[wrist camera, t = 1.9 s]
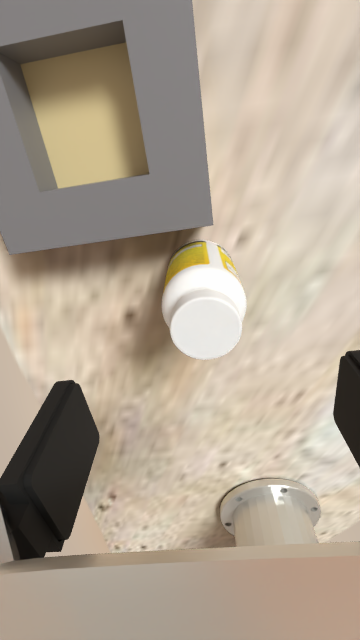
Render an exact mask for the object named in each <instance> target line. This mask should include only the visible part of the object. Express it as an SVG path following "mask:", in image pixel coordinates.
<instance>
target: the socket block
mask: <svg viewBox="0 0 360 640" xmlns="http://www.w3.org/2000/svg"><path fill="white" fill-rule="evenodd" d="M211 225H213V217H212V206H211V196H210V185H209V175H208V164H207V154H206V143H205V132H204V122H203V111H202V101H201V90H200V80H199V69H198V59H197V48H196V38H195V27H194V17H193V6H192V0H0V232H1V235H2V237H3V240H4V242H5V245H6V247H7V249H8V252H9V254H10V255H12V254H19V253H26V252H32V251H39V250H46V249H53V248H60V247H67V246H74V245H81V244H87V243H94V242H101V241H108V240H115V239H122V238H129V237H136V236H142V235H149V234H156V233H163V232H170V231H177V230H184V229H191V228H197V227H204V226H211Z"/></svg>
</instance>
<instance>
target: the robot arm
mask: <svg viewBox="0 0 360 640" xmlns="http://www.w3.org/2000/svg"><path fill="white" fill-rule="evenodd" d="M333 415H334V420H335V423H336V425H337V426H338V428H339V430H340V432H341V434H342V436H343V438H344V439H345V441H346V443H347V445H348V447H349V449H350V451H351V452H352V454H353V456H354V458H355V460H356V462H357V463H358V465H359V467H360V350H356V351H348V352H346V354H345V356H342V357H341V359H340V365H339V373H338V381H337V388H336V396H335V404H334V412H333ZM98 444H99V432H98V430H97V427H96V425H95V422H94V420H93V417H92V415H91V412H90V410H89V407H88V405H87V402H86V400H85V397H84V395H83V392H82V390H81V387H80V385H79V384H77V383H76V384H75V382H74V381H73V380H67V381H58V382H56V383H55V384H54V386H53V388H52V389H51V391H50V393H49V394H48V396H47V398H46V400H45V401H44V403H43V405H42V407H41V408H40V410H39V412H38V414H37V416H36V417H35V419H34V421H33V422H32V424H31V426H30V428H29V429H28V431H27V433H26V435H25V436H24V438H23V440H22V442H21V443H20V445H19V447H18V448H17V450H16V452H15V454H14V456H13V457H12V459H11V461H10V462H9V464H8V466H7V468H6V469H5V471H4V473H3V475H2V476H1V478H0V640H360V541H359V542H335V543H318V540H317V537H316V534H315V531H314V528H313V527H314V526H315V525H316V524H317V522H318V520H319V518H320V514H321V509H320V505H319V503H318V500H317V497H316V496H315V495H314V493H313V492H312V491H311V490H310V489H308V488H307V487H305V486H303V485H301V484H299V483H297V482H293V481H290V480H285V479H260V480H255V481H251V482H248V483H245V484H242V485H240V486H238V487H236V488H235V489H233V490H232V491H231V492H229V493H228V494H227V495H226V496H225V498H224V499H223V501H222V503H221V506H220V519H221V523H222V525H223V526H224V528H225V529H226V530H227V531H228V532H229V533H230V534H232V535H233V536H235V544H236V547H222V548H201V549H180V550H160V551H142V552H123V553H105V554H88V555H87V554H86V555H72V556H59V557H45V558H44V556H45V553H46V552H59V551H60V552H61V550H62V547H63V543H64V540H67V539H68V538H69V537H70V535H71V532H72V528H73V525H74V522H75V519H76V516H77V512H78V509H79V506H80V502H81V499H82V496H83V493H84V489H85V486H86V483H87V480H88V476H89V473H90V470H91V467H92V463H93V460H94V457H95V454H96V450H97V447H98Z"/></svg>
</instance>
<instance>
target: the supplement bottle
mask: <svg viewBox="0 0 360 640" xmlns="http://www.w3.org/2000/svg"><path fill="white" fill-rule="evenodd" d="M245 312H246V296H245V292H244V289H243V287H242V284H241V282H240V279H239V276H238V274H237V272H236V269H235V267H234V264H233V262H232V259H231V258H230V256H229V254H228V253H227V252H226V250H225V249H224V248H223V247H221V246H220V245H218V244H217V243H214V242H212V241H208V240H194V241H191V242H188V243H186V244H184V245H182V246H181V247H180V248H179V249H178V250H177V251H176V252H175V253H174V254H173V256H172V258H171V260H170V262H169V265H168V269H167V274H166V280H165V286H164V292H163V297H162V313H163V317H164V320H165V322H166V324H167V326H168V327H169V328H170V335H171V338H172V341H173V343H174V344H175V346H176V347H177V348H178V349H179V350H180V351H181V352H182V353H184V354H185V355H187V356H189V357H192V358H195V359H201V360H209V359H215V358H219V357H221V356H223V355H225V354H227V353H228V352H230V351H231V350H232V349H233V348H234V347H235V346H236V344H237V343H238V341H239V339H240V336H241V332H242V321H243V319H244V316H245Z"/></svg>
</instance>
